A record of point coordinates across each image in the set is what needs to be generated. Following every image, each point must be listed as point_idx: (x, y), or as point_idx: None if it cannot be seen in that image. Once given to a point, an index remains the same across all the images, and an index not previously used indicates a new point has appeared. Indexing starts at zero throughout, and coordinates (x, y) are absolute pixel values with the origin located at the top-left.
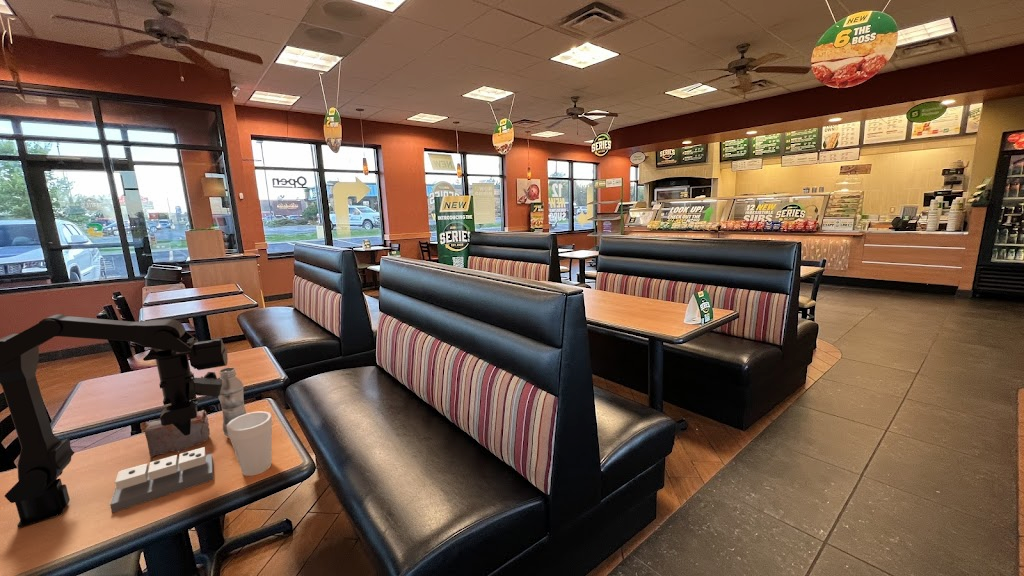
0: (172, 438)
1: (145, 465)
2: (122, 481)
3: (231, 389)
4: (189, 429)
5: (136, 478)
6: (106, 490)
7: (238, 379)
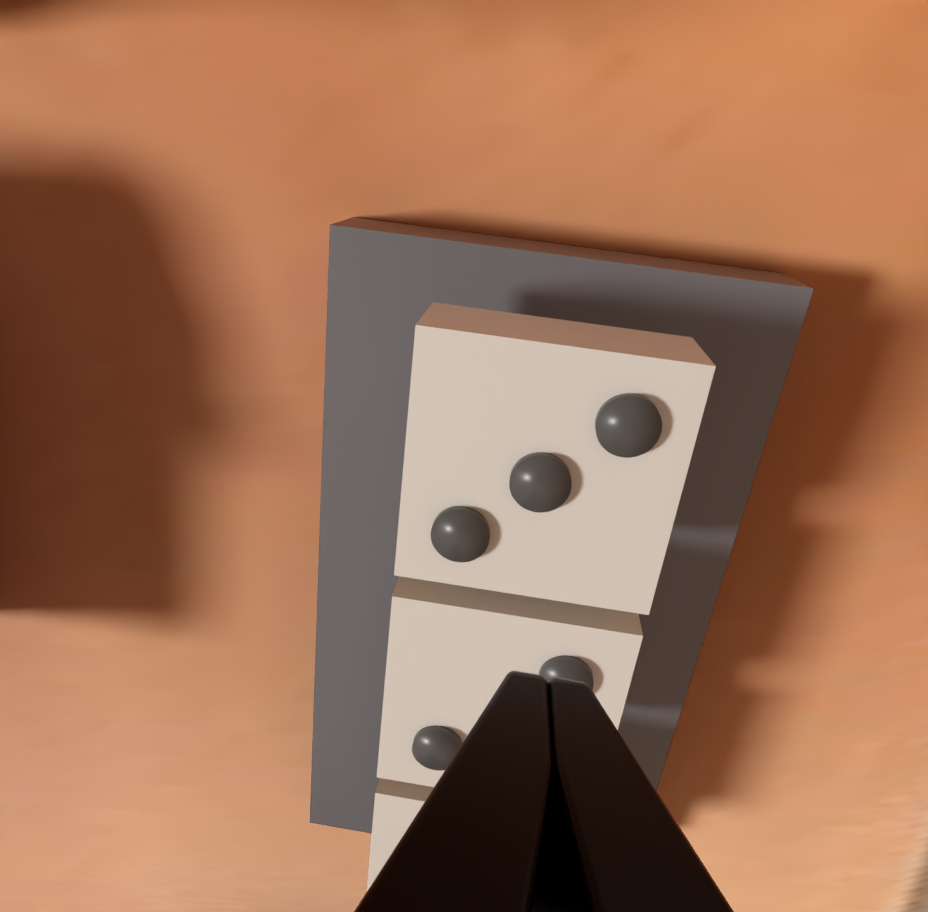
0: None
1: (414, 808)
2: None
3: None
4: (650, 794)
5: None
6: (297, 815)
7: None
